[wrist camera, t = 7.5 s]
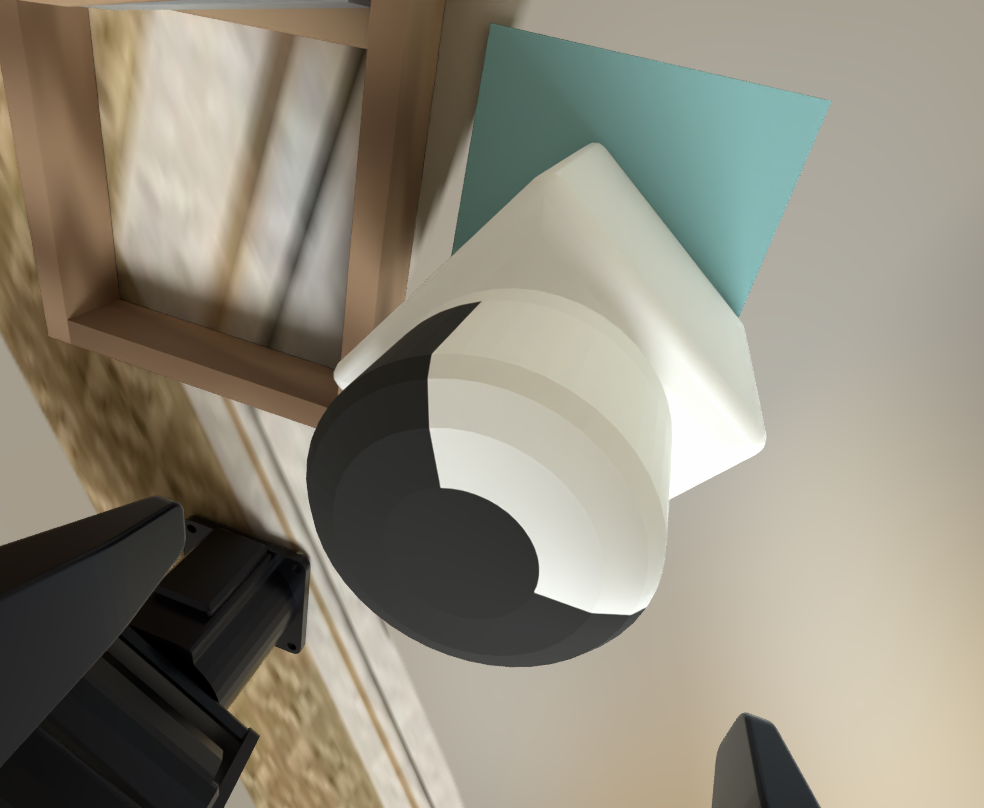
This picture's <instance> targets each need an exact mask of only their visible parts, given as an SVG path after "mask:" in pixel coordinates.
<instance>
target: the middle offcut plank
mask: <svg viewBox="0 0 984 808" xmlns="http://www.w3.org/2000/svg"><path fill="white" fill-rule="evenodd" d="M81 7H89V8H98V9H106V10H205V9H317V8H371V0H177V1H160V2H143V3H125V4H108V5H91V6H81Z"/></svg>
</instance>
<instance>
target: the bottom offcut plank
mask: <svg viewBox="0 0 984 808" xmlns="http://www.w3.org/2000/svg"><path fill="white" fill-rule="evenodd" d="M370 9H371V8H317V9H205V10H173V11H178V12H183V13H188V14H193V15H198V16H203V17H208V18H213V19H218V20H223V21H228V22H233V23H238V24H243V25H248V26H253V27H258V28H263V29H268V30H273V31H278V32H283V33H288V34H293V35H298V36H303V37H308V38H313V39H318V40H323V41H329V42H334V43H339V44H344V45H349V46H354V47H359V48H364V49H367V45H368V33H369V21H370Z"/></svg>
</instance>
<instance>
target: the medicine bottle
mask: <svg viewBox="0 0 984 808" xmlns="http://www.w3.org/2000/svg"><path fill="white" fill-rule="evenodd" d="M334 380H335V381H336V383H337V385H338V386H339V387H340V388H341V389H342V390H343V391H342V392H341V393H340V394H339V395H338V396H337V397H336V398H335V399H334V400H333V401H332V403H331V404H330V405H329V406H328V408H327V409H326V411H325V413H324V414H323V416H322V417H321V419H320V420H319V422H318V425H317V427H316V430H315V432H314V435H313V437H312V440H311V443H310V448H309V453H308V458H307V474H306V482H307V490H308V499H309V504H310V508H311V512H312V516H313V520H314V524H315V528H316V531H317V534H318V536H319V539H320V541H321V544H322V546H323V549H324V550H325V552H326V554H327V556H328V558H329V559H330V561H331V563H332V565H333V567H334V568H335V569H336V571H337V572H338V574H339V575H340V576H341V578H342V579H343V581H344V582H345V583H346V584H347V586H348V587H349V588H350V589H351V590H352V591H353V592H354V594H355V595H356V596H357V597H358V598H359V599H360V600H361V601H362V602H363V603H364V604H365V605H366V606H367V607H369V608H370V609H371V610H372V611H373V612H374V613H375V614H376V615H378V616H379V617H380V618H382V619H383V620H384V621H386V622H387V623H388V624H389V625H391V626H392V627H394V628H395V629H397V630H399V631H400V632H402V633H403V634H405V635H407V636H408V637H410V638H412V639H414V640H416V641H418V642H420V643H422V644H423V645H425V646H427V647H430V648H432V649H435V650H437V651H440V652H442V653H445V654H447V655H450V656H453V657H457V658H460V659H463V660H467V661H471V662H476V663H481V664H486V665H494V666H505V667H532V666H540V665H548V664H553V663H557V662H560V661H565V660H568V659H572V658H574V657H576V656H579V655H581V654H584V653H586V652H588V651H591V650H593V649H596V648H598V647H600V646H602V645H604V644H605V643H607V642H609V641H610V640H612V639H614V638H615V637H617V636H618V635H620V634H621V633H622V632H623V631H624V630H626V629H627V628H628V627H629V626H630V625H631V624H633V623H634V622H635V620H636V619H637V618H638V617H639V615H641V613H642V612H643V611H644V610H645V608H646V607H647V606H648V604H649V602H650V600H651V599H652V597H653V595H654V593H655V591H656V590H657V587H658V584H659V581H660V578H661V575H662V572H663V569H664V562H665V555H666V547H667V530H668V513H669V512H668V511H669V499H671V498H673V497H675V496H677V495H679V494H681V493H683V492H685V491H687V490H688V489H690V488H692V487H694V486H696V485H698V484H700V483H702V482H704V481H706V480H708V479H710V478H711V477H713V476H715V475H717V474H719V473H721V472H723V471H725V470H727V469H729V468H731V467H733V466H734V465H736V464H738V463H740V462H742V461H744V460H746V459H748V458H750V457H752V456H754V455H755V454H757V453H758V452H760V451H761V450H762V449H763V447H764V445H765V442H766V438H767V435H766V430H765V425H764V420H763V415H762V410H761V405H760V401H759V396H758V391H757V386H756V381H755V376H754V372H753V366H752V362H751V357H750V352H749V347H748V342H747V337H746V332H745V329H744V326H743V324H742V322H741V321H740V320H739V318H738V317H737V316H736V315H735V313H734V312H733V311H732V309H731V308H730V307H729V306H728V304H727V303H726V302H725V300H724V299H723V298H722V297H721V295H720V294H719V293H718V291H717V290H716V289H715V288H714V286H713V285H712V284H711V282H710V281H709V280H708V279H707V277H706V276H705V275H704V274H703V272H702V271H701V270H700V268H699V267H698V266H697V265H696V263H695V262H694V261H693V259H692V258H691V257H690V256H689V254H688V253H687V252H686V250H685V249H684V248H683V247H682V245H681V244H680V243H679V242H678V240H677V239H676V238H675V236H674V235H673V234H672V233H671V231H670V230H669V229H668V227H667V226H666V225H665V224H664V222H663V221H662V220H661V218H660V217H659V216H658V215H657V213H656V212H655V211H654V209H653V208H652V207H651V206H650V204H649V203H648V202H647V201H646V199H645V198H644V197H643V195H642V194H641V193H640V192H639V190H638V189H637V188H636V186H635V185H634V184H633V183H632V181H631V180H630V179H629V177H628V176H627V175H626V174H625V172H624V171H623V170H622V169H621V167H620V166H619V165H618V163H617V162H616V161H615V160H614V158H613V157H612V156H611V154H610V153H609V152H608V151H607V149H606V148H605V147H604V146H603V145H601V144H600V143H593V142H592V143H590V144H588V145H586V146H585V147H583V148H581V149H580V150H578V151H577V152H575V153H573V154H572V155H570V156H569V157H567V158H565V159H564V160H562V161H561V162H559V163H558V164H556V165H554V166H553V167H551V168H550V169H548V170H546V171H545V172H543V173H542V174H540V175H538V176H537V177H535V178H534V179H533V180H532V181H531V182H530V183H529V184H528V185H527V186H526V187H525V188H524V189H523V190H522V191H521V192H519V193H518V194H517V195H516V196H515V197H514V198H513V199H512V200H511V201H510V202H509V203H508V204H507V205H506V206H505V207H504V208H502V209H501V210H500V211H499V212H498V213H497V214H496V215H495V216H494V217H493V218H492V219H491V220H490V221H489V222H488V223H487V224H485V225H484V226H483V227H482V228H481V229H480V230H479V231H478V232H477V233H476V234H475V235H474V236H473V237H472V238H471V239H470V240H469V241H467V242H466V243H465V244H464V245H463V246H462V247H461V248H460V249H459V250H458V251H457V252H456V253H455V254H454V255H453V256H452V257H450V258H449V259H448V260H447V261H446V262H445V263H444V264H443V265H442V266H441V267H440V268H439V269H438V270H437V271H436V272H435V273H433V275H431V276H430V277H429V278H428V279H427V280H426V281H425V282H424V283H423V284H422V285H421V286H420V287H419V288H418V289H416V290H415V291H414V292H413V293H412V294H411V295H410V296H409V297H408V298H407V299H406V300H405V301H404V302H403V303H402V304H401V305H399V306H398V307H397V308H396V309H395V310H394V311H393V312H392V313H391V314H390V315H389V316H388V317H387V318H386V319H385V320H384V321H383V322H381V323H380V324H379V325H378V326H377V327H376V328H375V329H374V330H373V331H372V332H371V333H370V334H369V335H368V336H367V337H366V338H364V339H363V340H362V341H361V342H360V343H359V344H358V345H357V346H356V347H355V348H354V349H353V350H352V351H351V352H350V353H349V354H347V355H346V356H345V357H344V358H343V359H342V360H341V361H340V362H339V363H338V365H337V367H336V369H335V371H334Z"/></svg>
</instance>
